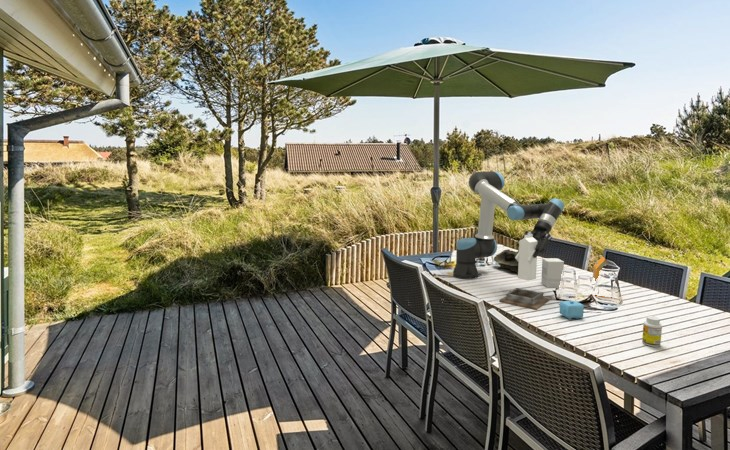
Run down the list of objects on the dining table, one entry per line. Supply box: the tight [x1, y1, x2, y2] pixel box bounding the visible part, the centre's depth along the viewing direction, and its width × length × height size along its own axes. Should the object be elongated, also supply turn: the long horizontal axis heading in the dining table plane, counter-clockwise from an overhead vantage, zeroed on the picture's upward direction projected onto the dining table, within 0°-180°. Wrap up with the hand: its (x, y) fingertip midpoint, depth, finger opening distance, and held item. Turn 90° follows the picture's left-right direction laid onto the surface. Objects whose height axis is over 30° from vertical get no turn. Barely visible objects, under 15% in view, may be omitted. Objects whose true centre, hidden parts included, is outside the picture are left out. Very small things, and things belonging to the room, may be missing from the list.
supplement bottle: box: [641, 315, 663, 348], centre depth 147 cm, size 6×6×10 cm
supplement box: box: [540, 257, 565, 288], centre depth 224 cm, size 9×9×15 cm
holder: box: [499, 287, 550, 311], centre depth 197 cm, size 18×18×4 cm
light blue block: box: [556, 300, 585, 320], centre depth 175 cm, size 12×6×8 cm, turn 96°
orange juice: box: [592, 255, 610, 281], centre depth 206 cm, size 8×9×20 cm
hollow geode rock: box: [493, 248, 519, 274], centre depth 258 cm, size 28×13×15 cm
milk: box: [517, 234, 538, 281], centre depth 194 cm, size 6×6×22 cm
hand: (522, 260), depth 192 cm, fingers closed on milk, 6 cm apart
